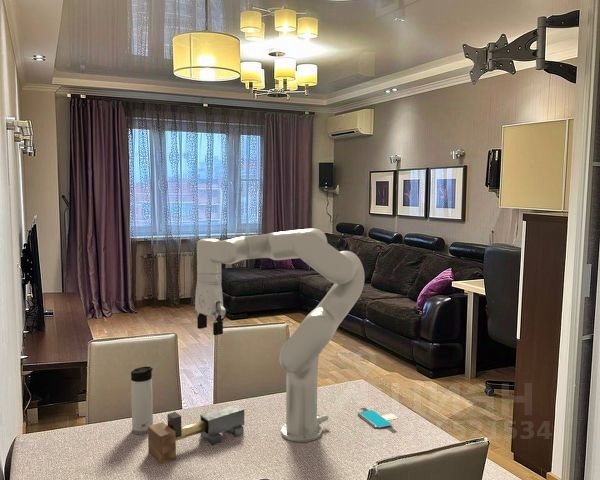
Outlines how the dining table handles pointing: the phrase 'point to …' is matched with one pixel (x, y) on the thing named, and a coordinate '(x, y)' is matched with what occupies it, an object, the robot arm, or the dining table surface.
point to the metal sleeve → (223, 423)
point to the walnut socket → (162, 443)
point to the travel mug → (141, 399)
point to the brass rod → (188, 430)
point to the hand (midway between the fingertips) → (210, 331)
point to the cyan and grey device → (377, 419)
